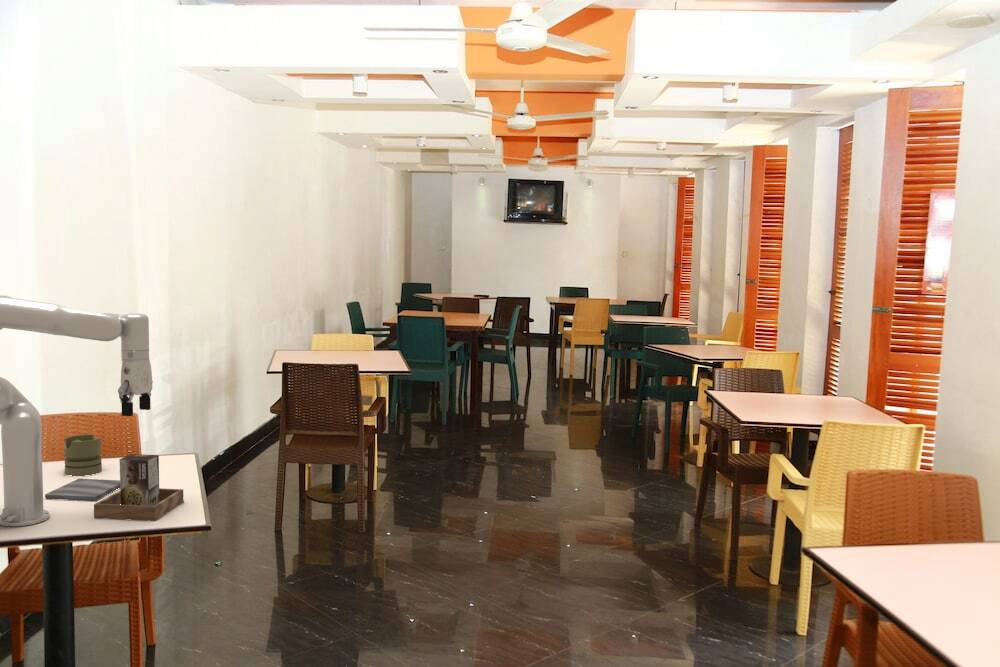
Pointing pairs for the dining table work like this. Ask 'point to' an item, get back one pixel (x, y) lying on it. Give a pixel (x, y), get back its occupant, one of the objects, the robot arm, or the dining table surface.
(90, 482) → the serving board
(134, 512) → the wooden frame
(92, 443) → the piston
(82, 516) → the dining table surface
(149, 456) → the coffee box
